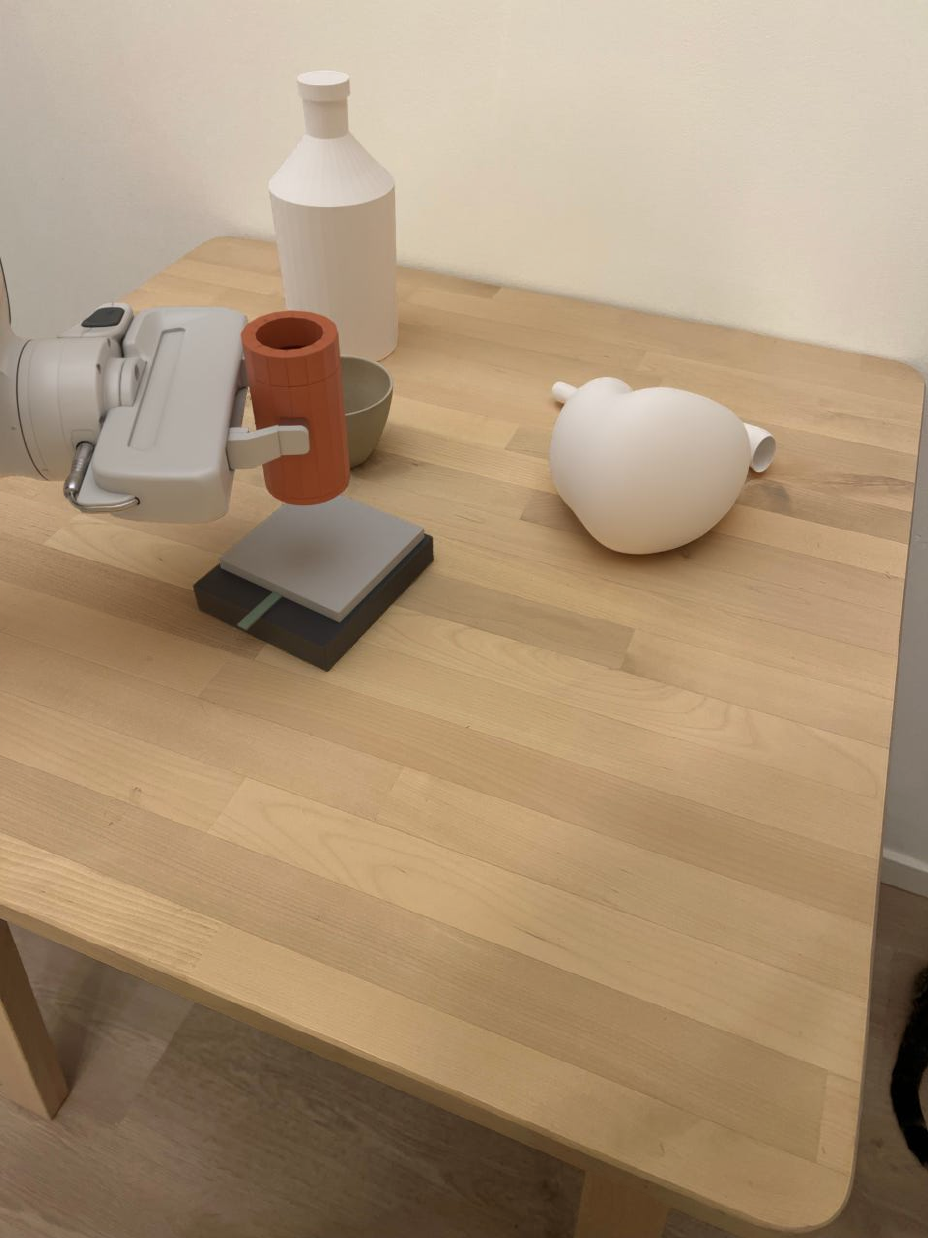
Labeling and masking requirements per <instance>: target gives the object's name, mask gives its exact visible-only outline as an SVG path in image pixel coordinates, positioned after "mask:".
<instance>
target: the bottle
mask: <svg viewBox="0 0 928 1238" xmlns="http://www.w3.org/2000/svg"><path fill="white" fill-rule="evenodd" d="M296 84H297V94H298V96H299V97H300V99H301V100H302V107H303V108H302V109H303V116H304V124H305V133H304V135H303V136H302V138H301V139H300V140H299V141H298V143H297V145H296V146H295V147H294V148H293V150H292V151H291V153H290V154H289V156H288V157H287V158H286V160H285V161H284V162H283V163H282V165H281V166H280V167H279V168H278V170H276V171H275V173H274V174H273V175H272V176H271V177H270V178H269V180H268V183H267V187H268V194H269V201H270V209H271V213H272V220H273V228H274V234H275V241H276V249H277V255H278V261H279V262H278V263H279V268H280V275H281V282H282V290H283V296H284V297H283V298H284V303H285V311H290V310H293V311H305V312H313V313H316V314H319V315H322V316H325V317H327V318H328V319H330V320H331V321H332V322H333V323H335V325H336V327H337V331H338V336H339V348H340V355H352V356H359V357H363V358H367V359H370V360H373V361H375V362H377V363H378V362H379V361H382V360H384V359H385V358H387V357H388V356H390V355H391V354H392V353H393V352H394V351H395V350H396V349H397V347H398V344H399V320H398V319H399V314H398V313H399V311H398V309H399V308H398V266H397V264H398V263H397V223H396V222H397V220H396V219H397V218H396V217H397V216H396V180H395V178H394V176H393V175H392V174H391V172H389V171H388V170H387V169H386V168H385V167H384V166H383V165H382V164H380V162H378V161H377V160H376V158H374V157H373V156H372V155H371V154H370V153H369V152H368V150H366V148H365V147H364V146H363V145H362V144H361V142H359V140H358V139H357V138H356V137H355V136H354V135H353V133H351V132H350V130H349V108H348V97H349V96H350V95H351V86H350V85H351V84H350V76H349V74H347V73H345V72H342V71H337V70H329V69H327V70H326V69H323V70H322V69H321V70H319V69H318V70H311V71H310V70H309V71H306V72H303V73H300V74H298V75H297V77H296Z"/></svg>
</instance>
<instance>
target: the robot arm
mask: <svg viewBox="0 0 928 1238" xmlns="http://www.w3.org/2000/svg"><path fill="white" fill-rule="evenodd" d="M3 266H4V265H3V263H2V259H1V257H0V479H4V478H9V477H10V478H11V477H20V478H21V477H23V478H29V479H33V480H37V481H41V482H63V486H62V493H63V496H64V498H66V499H68V502H69V503H70V505H71V506H73V507H74V508H75V509H77V510H79V511H80V512H81V513H82V514H87V515H105V514H106V515H107V514H109V515H111V517H112V516H113V517H115V518H118V519H121V520H126V521H133V522H139V523H140V522H141V523H151V524H152V523H153V524H172V525H173V524H174V525H205V524H210V523H212V522H214V521H216V520H218V519H220V518H223V517H225V516H226V515H227V514H228V513H229V506H230V503H231V496H232V489H233V483H234V477H235V472H236V471H235V470H249V469H251V470H252V469H255V468H257V467H260V466H262V464H265V463H267V462H269V461H272V460H274V459H276V458H279V457H281V455H301V454H306V453H308V451H309V450H310V430H309V422H308V421H307V419H305V418H303V417H297V418H295V419H293V418H279V425H276V426H272V427H268V428H264V429H261V430H257V431H256V430H254V431H250V428H249V427H247V426H243V420H244V414H245V409H246V400H247V397H248V396H247V394H248V390H249V389H248V388H249V382H248V376H247V370H246V364H245V358H244V352H243V346H242V340H241V332H242V331H243V329H244V328H245V326H246V325H247V324H249V323H250V322H249V319H248V316H247V315H246V314H245V313H244V312H241V311H239V310H237V309H233V308H231V307H228V306H227V307H226V306H212V305H164V306H153V307H149V308H144V309H143V310H140V311H139V312H137V313H136V314H135V315H134V311H133V308H132V306H131V305H130V304H129V303H127V302H105V303H102V304H101V305H99V306H97V307H96V308H95V309H94V310H93V311H92V312H91V313H90V314H88V315H87V316H86V317H85V318H83V319H82V320H81V321H80V322H78V323H76V324H75V325H74V326H71V327H70V328H67V329H65V330H62V331H61V332H59V333H58V334H57V335H56V338H53V337H52V338H24V337H20V336H18V335H17V334H16V333H15V332H14V331H13V329H12V313H11V305H10V298H9V291H8V285H7V281H6V280H7V279H6V275H5V271H4V267H3Z"/></svg>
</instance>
